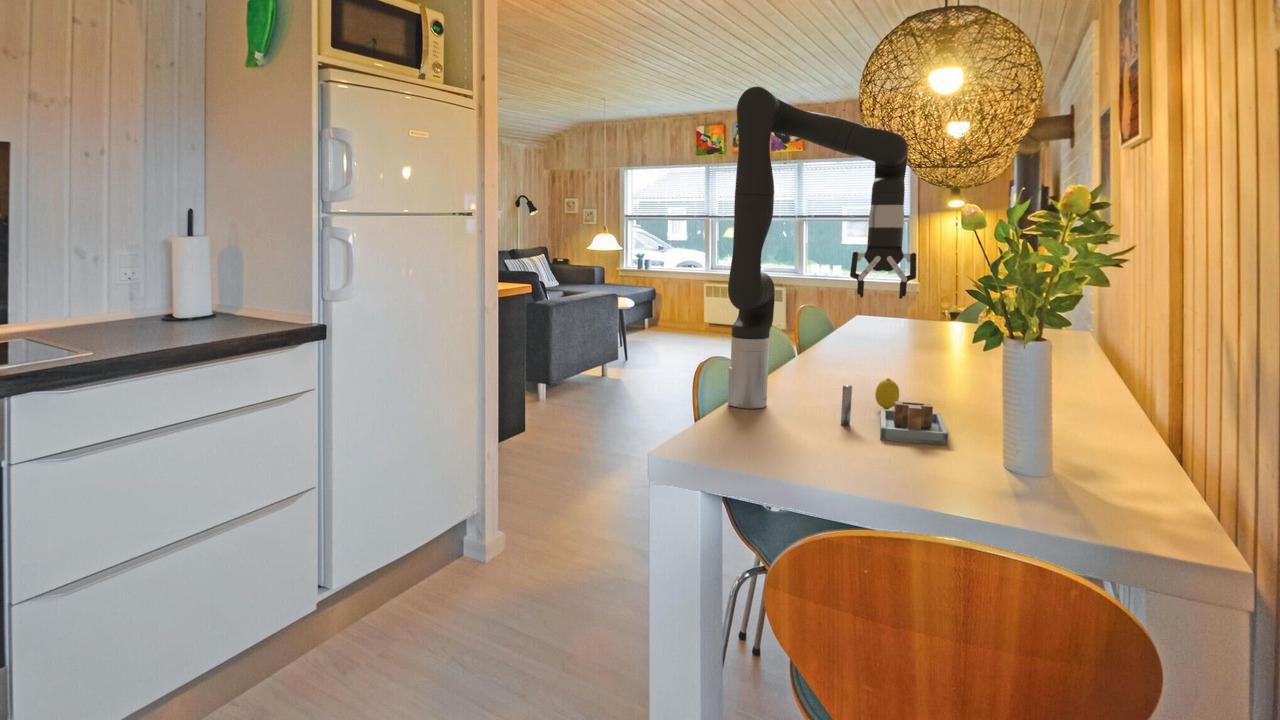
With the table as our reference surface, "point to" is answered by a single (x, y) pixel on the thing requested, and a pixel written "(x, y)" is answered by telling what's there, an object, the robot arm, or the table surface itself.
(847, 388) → the peg
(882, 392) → the lemon
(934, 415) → the tray
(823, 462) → the table surface
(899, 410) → the collar
